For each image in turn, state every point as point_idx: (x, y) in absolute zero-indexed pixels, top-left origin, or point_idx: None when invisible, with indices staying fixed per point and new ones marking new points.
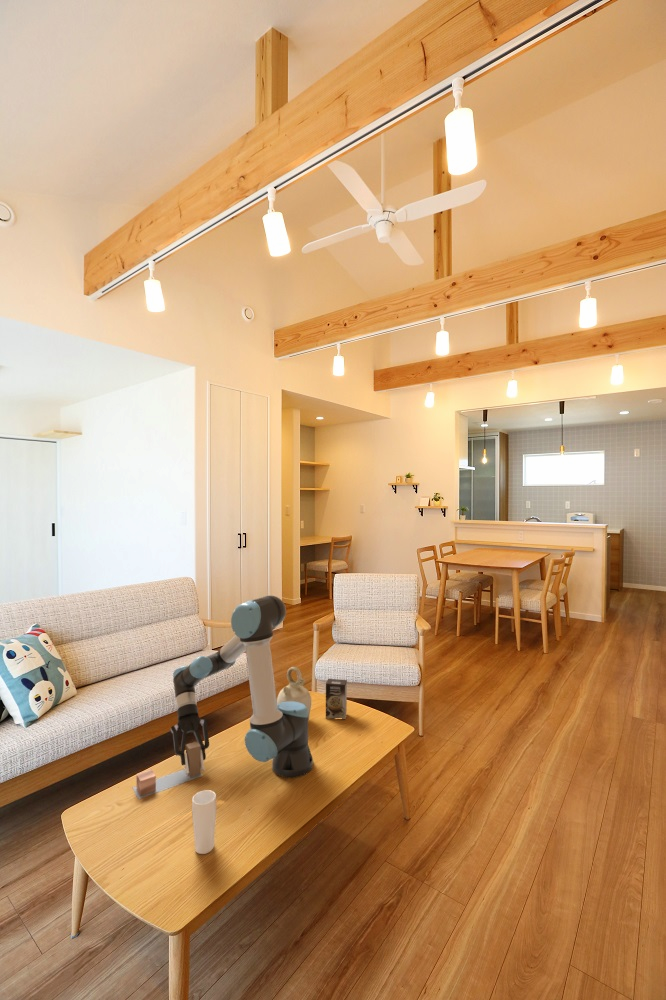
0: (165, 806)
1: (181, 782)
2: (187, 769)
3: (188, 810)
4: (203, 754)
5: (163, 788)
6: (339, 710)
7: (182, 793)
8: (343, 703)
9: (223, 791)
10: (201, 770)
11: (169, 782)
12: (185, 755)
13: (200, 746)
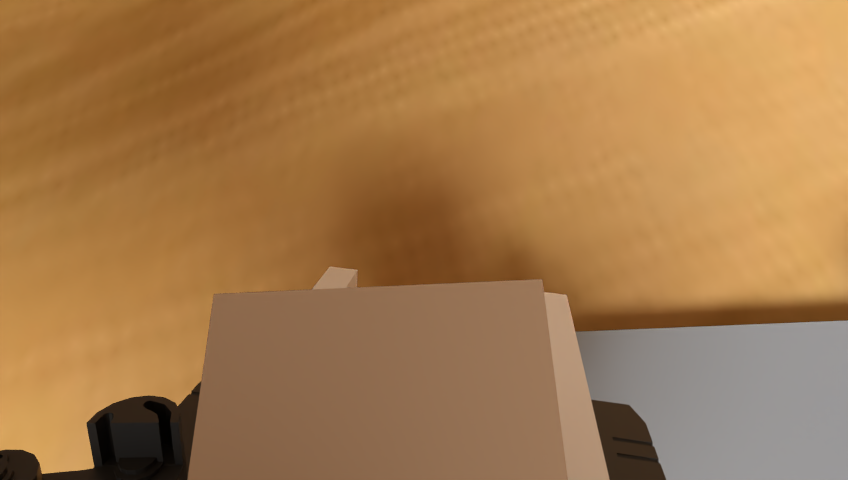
0: (782, 139)
1: (608, 350)
2: (555, 314)
3: (605, 19)
4: None
5: (825, 351)
6: None
7: (612, 229)
8: None
9: (294, 82)
10: None
11: (749, 436)
12: (587, 462)
13: (224, 303)
